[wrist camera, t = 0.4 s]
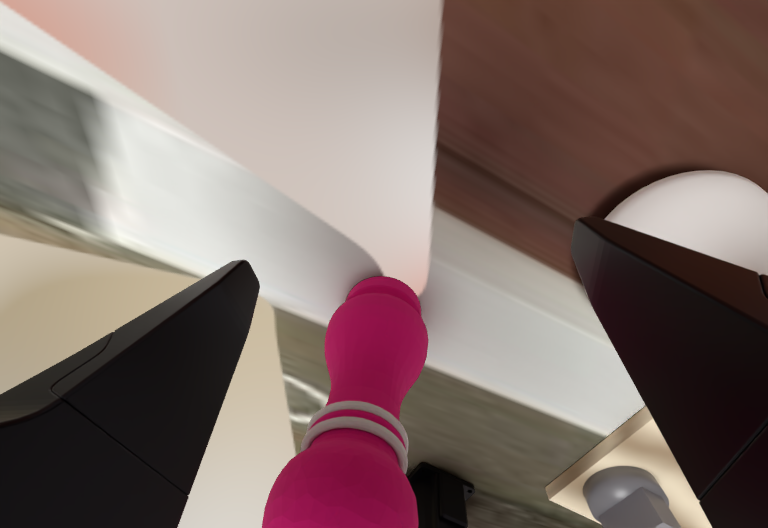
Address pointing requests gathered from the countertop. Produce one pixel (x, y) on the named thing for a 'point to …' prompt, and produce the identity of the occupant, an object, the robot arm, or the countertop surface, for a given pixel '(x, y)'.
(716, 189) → the flower in vase
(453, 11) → the countertop surface
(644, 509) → the cap
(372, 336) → the pepper mill
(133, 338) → the robot arm
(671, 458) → the board
